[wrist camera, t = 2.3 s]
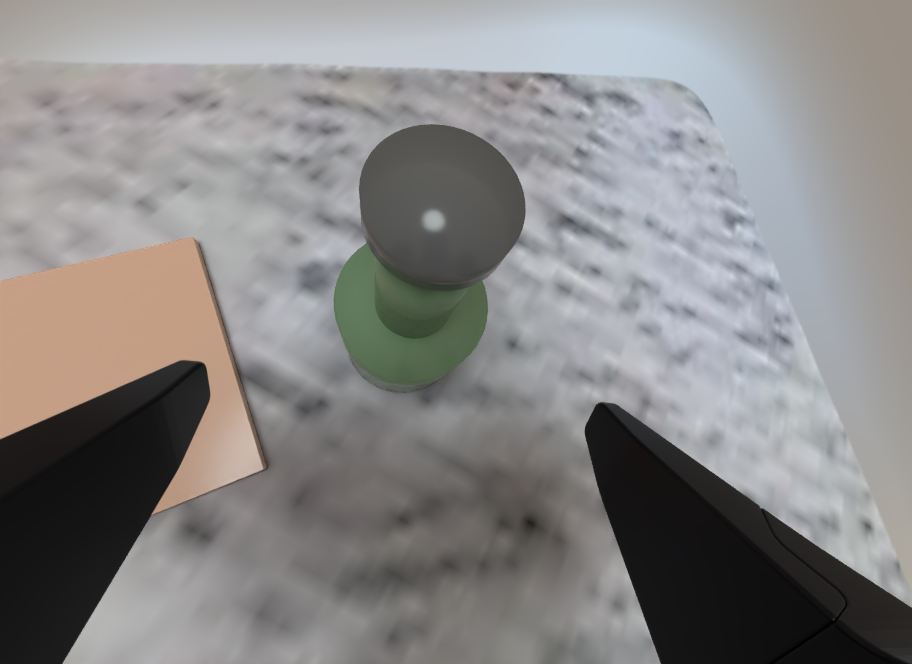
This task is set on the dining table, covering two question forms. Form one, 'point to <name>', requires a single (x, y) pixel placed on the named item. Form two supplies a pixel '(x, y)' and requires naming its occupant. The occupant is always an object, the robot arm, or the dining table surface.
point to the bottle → (425, 254)
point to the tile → (126, 351)
